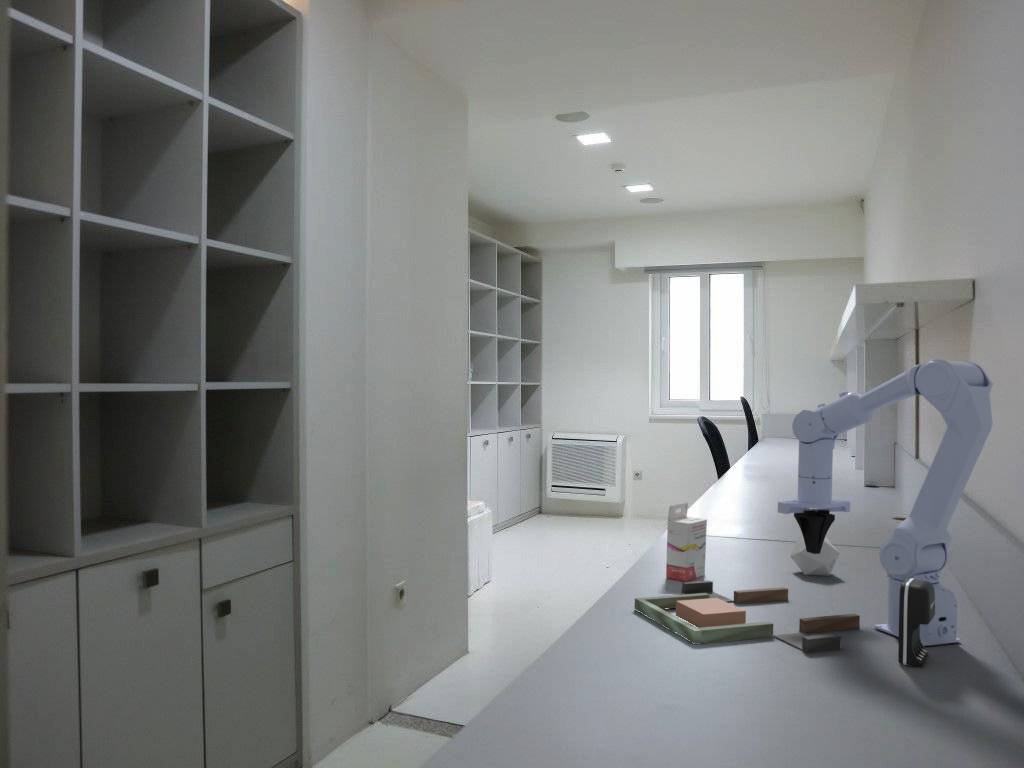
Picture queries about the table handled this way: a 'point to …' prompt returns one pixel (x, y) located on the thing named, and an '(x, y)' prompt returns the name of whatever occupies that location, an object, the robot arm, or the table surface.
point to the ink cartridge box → (685, 545)
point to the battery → (914, 620)
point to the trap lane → (749, 630)
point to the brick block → (710, 612)
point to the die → (815, 558)
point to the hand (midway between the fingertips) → (813, 552)
